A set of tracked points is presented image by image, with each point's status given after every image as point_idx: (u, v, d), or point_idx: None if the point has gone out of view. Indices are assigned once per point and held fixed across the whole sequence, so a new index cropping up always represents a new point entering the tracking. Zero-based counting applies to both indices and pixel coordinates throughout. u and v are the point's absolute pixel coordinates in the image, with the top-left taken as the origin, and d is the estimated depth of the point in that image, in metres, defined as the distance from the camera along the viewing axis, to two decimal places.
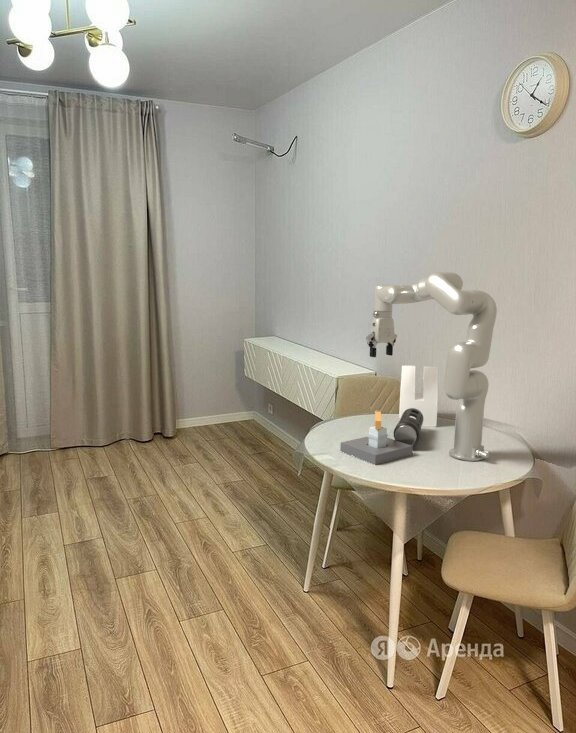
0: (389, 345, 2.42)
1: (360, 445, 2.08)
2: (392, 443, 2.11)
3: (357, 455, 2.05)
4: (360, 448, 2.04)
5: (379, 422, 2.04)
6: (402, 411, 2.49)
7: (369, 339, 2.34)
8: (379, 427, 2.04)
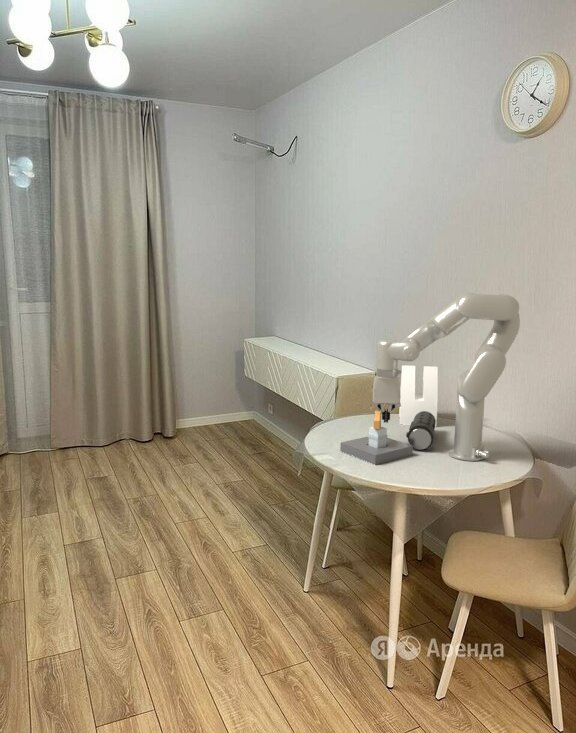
0: None
1: (360, 445, 2.08)
2: (392, 443, 2.11)
3: (357, 455, 2.05)
4: (360, 448, 2.04)
5: (377, 422, 2.04)
6: (402, 411, 2.49)
7: None
8: (377, 427, 2.04)
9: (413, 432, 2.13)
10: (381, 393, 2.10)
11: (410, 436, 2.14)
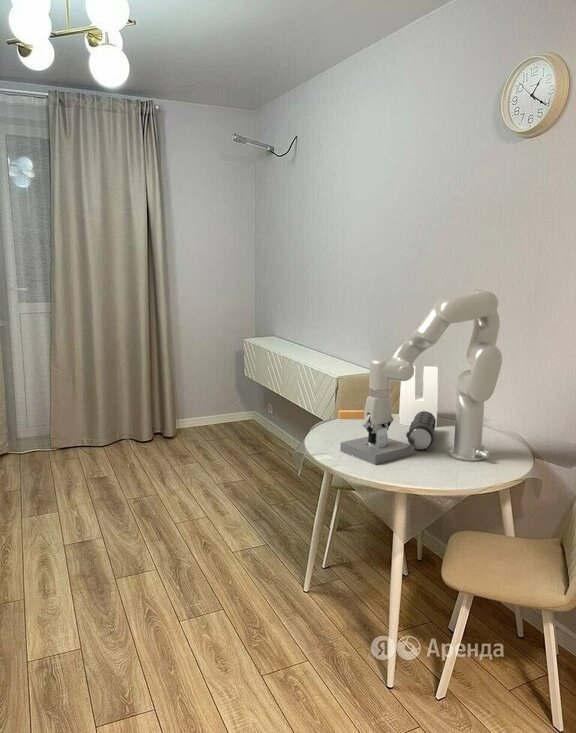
0: None
1: (360, 445, 2.08)
2: (392, 443, 2.11)
3: (357, 455, 2.05)
4: (360, 448, 2.04)
5: (339, 412, 2.18)
6: (402, 411, 2.49)
7: None
8: (339, 417, 2.18)
9: (413, 432, 2.13)
10: (379, 414, 2.04)
11: (410, 436, 2.14)
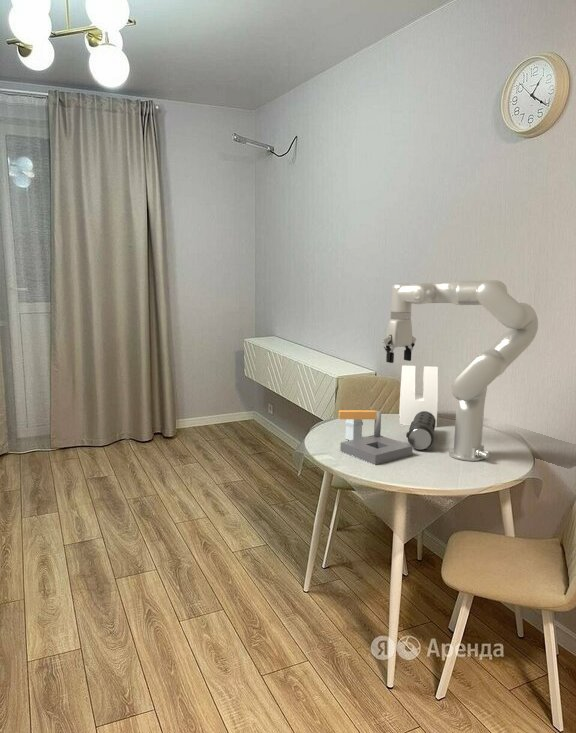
0: None
1: (360, 445, 2.08)
2: (392, 443, 2.11)
3: (357, 455, 2.05)
4: (360, 448, 2.04)
5: (339, 412, 2.18)
6: (402, 411, 2.49)
7: None
8: (339, 417, 2.18)
9: (413, 432, 2.13)
10: (401, 336, 2.14)
11: (410, 436, 2.14)
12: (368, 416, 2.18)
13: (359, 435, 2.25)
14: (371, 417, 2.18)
